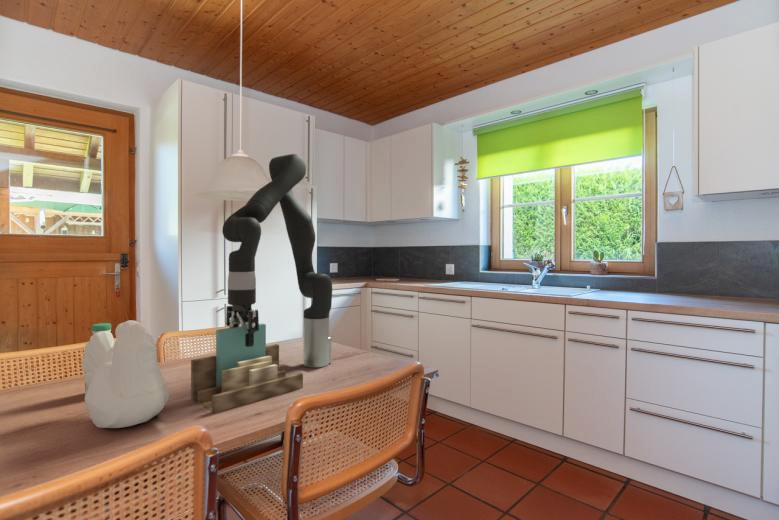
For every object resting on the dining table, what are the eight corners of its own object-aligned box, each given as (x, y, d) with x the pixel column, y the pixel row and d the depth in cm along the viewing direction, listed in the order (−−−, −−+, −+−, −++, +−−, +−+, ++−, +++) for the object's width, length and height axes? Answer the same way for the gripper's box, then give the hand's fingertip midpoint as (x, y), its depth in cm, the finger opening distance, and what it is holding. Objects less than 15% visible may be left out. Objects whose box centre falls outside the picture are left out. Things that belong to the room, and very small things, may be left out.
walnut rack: (276, 382, 129) (276, 344, 129) (302, 392, 120) (302, 351, 119) (191, 404, 110) (191, 359, 110) (214, 419, 100) (214, 370, 100)
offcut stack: (268, 385, 121) (269, 355, 121) (277, 389, 118) (277, 358, 118) (219, 399, 110) (219, 365, 110) (227, 403, 107) (227, 369, 106)
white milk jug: (181, 420, 100) (180, 318, 99) (106, 444, 87) (105, 328, 86) (136, 397, 115) (135, 309, 114) (66, 415, 102) (65, 316, 101)
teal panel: (262, 383, 123) (262, 323, 123) (265, 384, 122) (265, 324, 122) (216, 394, 113) (216, 329, 113) (219, 396, 112) (219, 330, 111)
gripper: (267, 288, 115) (267, 345, 115) (241, 285, 124) (241, 338, 125) (242, 290, 109) (242, 350, 110) (217, 286, 119) (217, 342, 119)
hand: (241, 344), depth 117 cm, fingers open, 8 cm apart
